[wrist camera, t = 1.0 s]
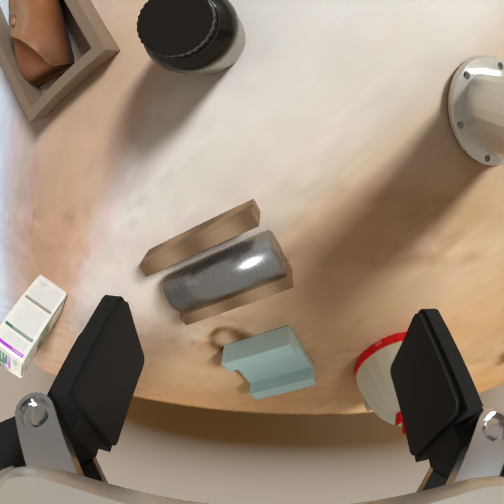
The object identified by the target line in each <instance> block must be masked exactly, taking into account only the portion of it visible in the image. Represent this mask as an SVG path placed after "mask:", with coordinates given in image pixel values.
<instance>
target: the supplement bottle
mask: <svg viewBox="0 0 504 504" xmlns="http://www.w3.org/2000/svg"><path fill="white" fill-rule="evenodd" d="M137 26H138V27H137V32H138V37H139V38H140V39H141V43H143V44H144V47H145V49H146V51H147V53H148V55H149V56H150V58H151V59H152V60H153V61H154V62H155V63H156V64H158V65H159V66H161V67H163V68H164V69H167V70H169V71H173V72H177V73H190V74H211V73H216V72H220V71H222V70H224V69H226V68H228V67H229V66H231V65H232V64H233V63H234V62H235V61H236V60H237V59H238V58H239V56H240V55H241V53H242V51H243V48H244V44H245V33H244V29H243V26H242V24H241V22H240V19H239V17H238V15H237V13H236V11H235V9H234V7H233V6H232V5H231V3H230V2H229V1H228V0H149V1H148V2H147V3H145V5H144V7H143V8H142V9H141V11H140V15H139V16H138V22H137Z"/></svg>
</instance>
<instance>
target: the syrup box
mask: <svg viewBox="0 0 504 504" xmlns="http://www.w3.org/2000/svg"><path fill="white" fill-rule="evenodd" d="M66 297H67V293H66V292H64V291H63V290H62V289H61V288H59V287H58V286H56V285H55V284H54V283H52V282H51V281H49V280H48V279H47V278H45V277H44V276H42V275H41V274H40V275H39V276H38V277H37V278H36V280H35V281H34V282H33V283H32V284H31V285H30V287H29V288H28V289H27V290H26V292H25V293H24V294H23V295H22V297H21V298H20V299H19V300H18V302H17V303H16V304H15V306H14V307H13V308H12V310H11V311H10V312H9V314H8V315H7V316H6V318H5V319H4V320H3V322H2V323H1V325H0V365H2V366H3V367H4V368H6V369H7V370H8V371H10V372H11V373H13V374H14V375H16V376H18V377H19V378H22V376H23V374H24V373H25V371H26V369H27V368H28V366H29V364H30V363H31V361H32V359H33V357H34V356H35V354H36V352H37V351H38V349H39V347H40V346H41V344H42V342H43V341H44V339H45V338H46V336H47V334H48V333H49V331H50V330H51V328H52V326H53V325H54V323H55V322H56V320H57V319H58V317H59V316H60V314H61V312H62V309H63V306H64V302H65V299H66Z"/></svg>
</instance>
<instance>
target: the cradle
mask: <svg viewBox="0 0 504 504" xmlns="http://www.w3.org/2000/svg"><path fill="white" fill-rule="evenodd" d="M221 365H222V366H223V367H224V368H225V369H226V370H227V371H228V372H231V371H235V370H238V371H239V372H240V373H241V374H242V375H243V376H244V377H245V378H246V380H247V381H248V382H249V383H250V395H251V396H252V397H253V398H254V399H255V400H259V399H263V398H267V397H272V396H276V395H280V394H284V393H288V392H292V391H296V390H299V389H303V388H307V387H310V386H314V385H317V384H316V373H315V366H314V364H313V363H312V361H311V360H310V358H309V356H308V355H307V353H306V352H305V350H304V349H303V347H302V345H301V344H300V342H299V341H298V339H297V337H296V336H295V334H294V333H293V331H292V329H291V328H290V326H289V325H287V326H284V327H281V328H278V329H275V330H272V331H269V332H266V333H263V334H260V335H256V336H253V337H250V338H247V339H244V340H240V341H237V342H234V343H230V344H227V345H224V349H223V355H222V361H221Z"/></svg>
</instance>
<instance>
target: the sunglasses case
mask: <svg viewBox="0 0 504 504" xmlns="http://www.w3.org/2000/svg"><path fill="white" fill-rule="evenodd" d="M9 10H10V14H9V28H10V34H11V36H12V38H13V42H14V49H15V55H16V60H17V65H18V68H19V71H20V73H21V75H22V77H23V78H24V79H25V80H26V81H27V82H29V83H30V84H32V85H34V86H35V87H38V86H40V85H42V84H44V83H45V82H47V81H49V80H51V79H53V78H55V77H57V76H59V75H61V74H63V73H65V72H66V71H67V70H68V69H69V68H70V67H71V66H72V65H73V64H74V55H73V52H72V47H71V43H70V40H69V36H68V32H67V28H66V23H65V19H64V14H63V8H62V3H61V0H9Z"/></svg>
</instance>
